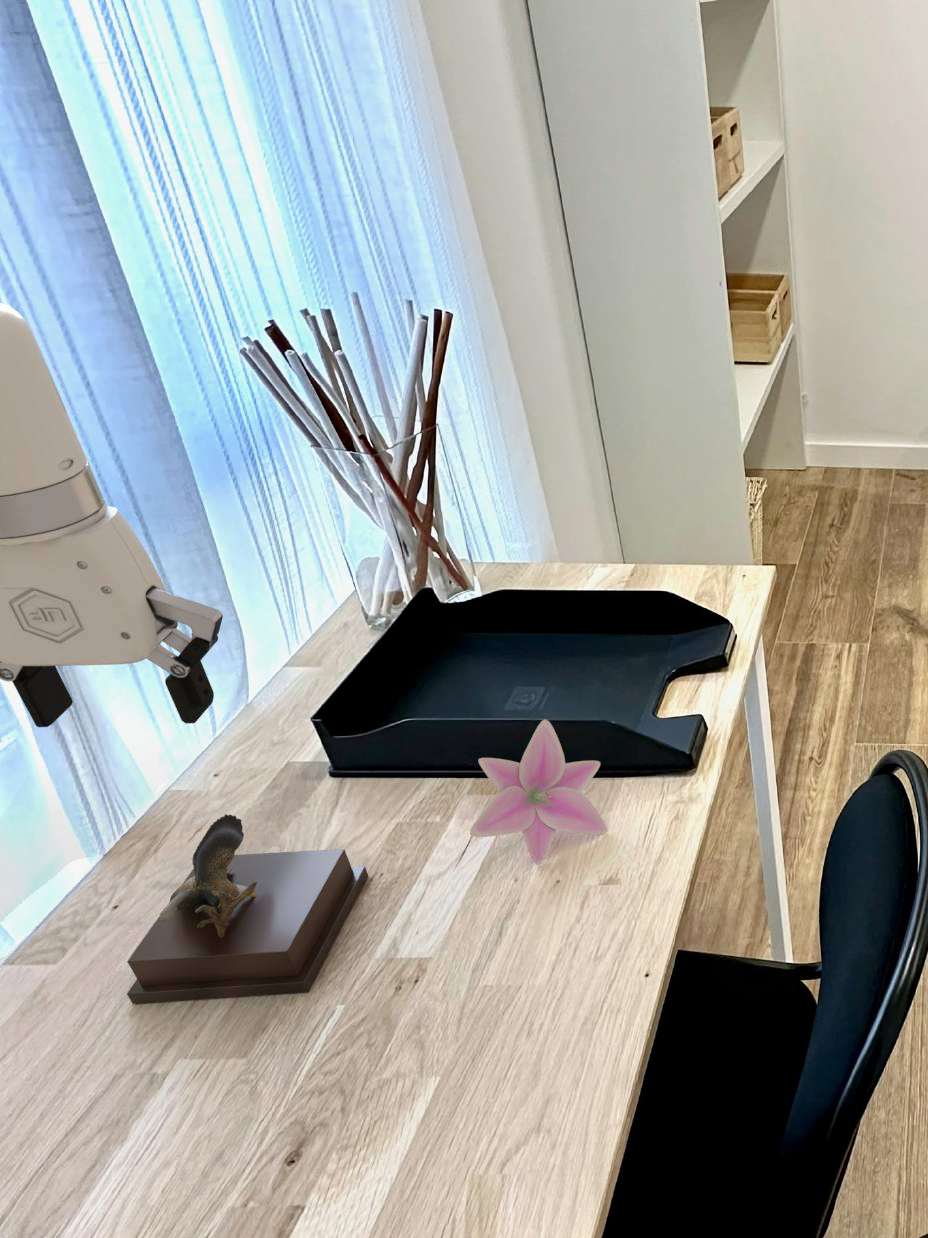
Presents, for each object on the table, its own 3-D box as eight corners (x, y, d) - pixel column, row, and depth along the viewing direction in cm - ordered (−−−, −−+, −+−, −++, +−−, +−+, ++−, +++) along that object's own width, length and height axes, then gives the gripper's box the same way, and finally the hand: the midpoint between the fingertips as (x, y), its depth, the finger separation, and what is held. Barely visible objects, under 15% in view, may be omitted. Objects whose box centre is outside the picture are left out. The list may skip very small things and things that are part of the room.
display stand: (132, 1004, 85) (111, 969, 82) (213, 884, 96) (197, 851, 93) (308, 992, 86) (292, 957, 84) (368, 876, 97) (356, 842, 95)
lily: (461, 885, 98) (476, 834, 91) (459, 772, 104) (473, 717, 98) (599, 877, 104) (622, 830, 98) (589, 771, 110) (610, 720, 104)
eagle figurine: (299, 896, 88) (269, 823, 92) (221, 872, 82) (193, 794, 86) (224, 963, 87) (197, 886, 92) (139, 944, 81) (115, 862, 86)
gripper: (-166, 527, 66) (-37, 749, 75) (140, 525, 68) (230, 742, 77) (-78, 477, 72) (31, 688, 82) (200, 477, 74) (277, 682, 83)
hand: (128, 714), depth 79 cm, fingers open, 9 cm apart
